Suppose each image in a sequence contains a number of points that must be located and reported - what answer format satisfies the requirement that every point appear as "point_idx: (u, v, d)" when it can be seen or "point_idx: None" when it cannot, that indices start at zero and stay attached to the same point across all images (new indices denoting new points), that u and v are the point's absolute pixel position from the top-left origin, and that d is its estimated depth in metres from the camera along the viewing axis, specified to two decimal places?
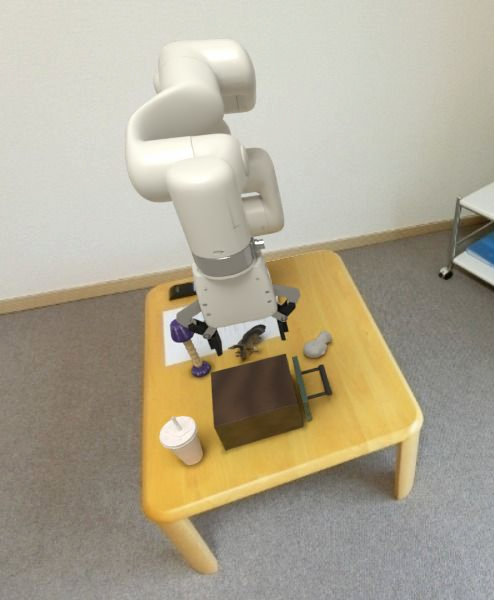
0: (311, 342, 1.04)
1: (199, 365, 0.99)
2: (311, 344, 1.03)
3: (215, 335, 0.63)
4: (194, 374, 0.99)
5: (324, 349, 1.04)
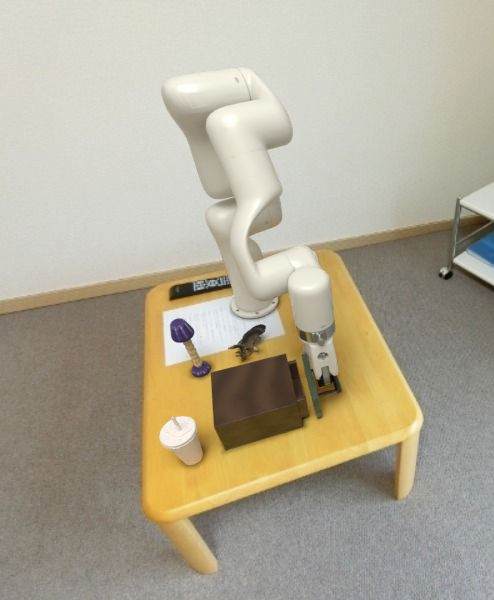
0: None
1: (199, 365, 0.99)
2: None
3: None
4: (194, 374, 0.99)
5: None
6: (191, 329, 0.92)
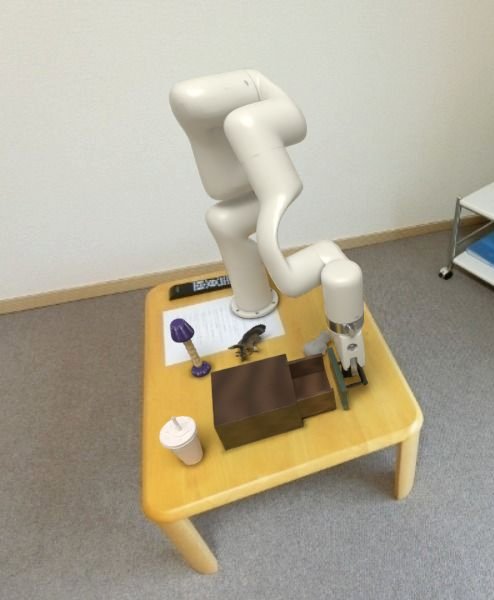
0: (311, 342, 1.04)
1: (199, 365, 0.99)
2: (311, 344, 1.03)
3: None
4: (194, 374, 0.99)
5: (324, 349, 1.04)
6: (191, 329, 0.92)
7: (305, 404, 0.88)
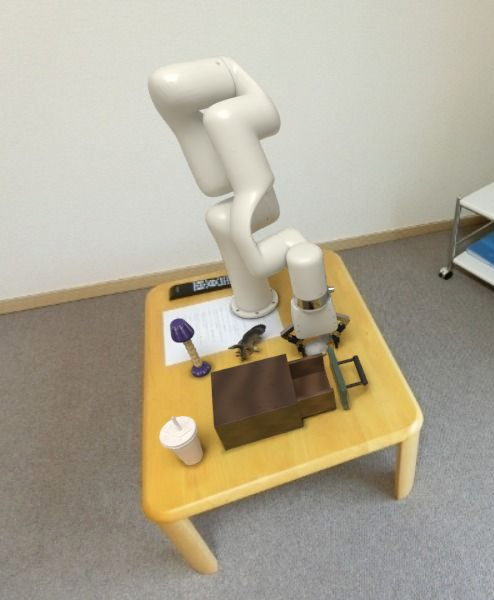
0: (312, 342, 1.04)
1: (199, 365, 0.99)
2: (312, 344, 1.03)
3: (302, 344, 1.02)
4: (194, 374, 0.99)
5: (325, 349, 1.05)
6: (191, 329, 0.92)
7: (305, 404, 0.88)
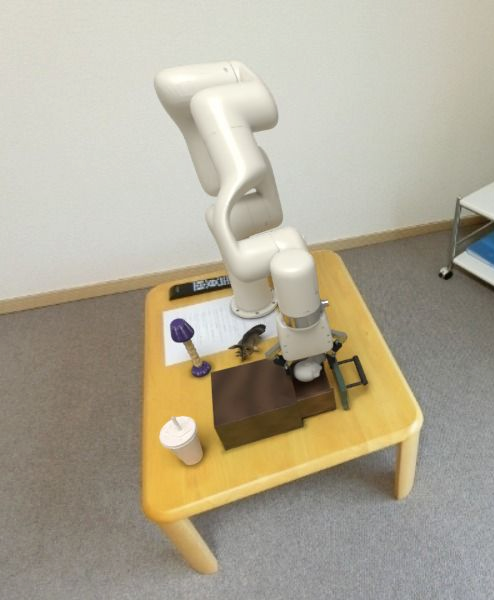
0: (302, 363, 0.89)
1: (199, 365, 0.99)
2: (303, 365, 0.88)
3: (291, 366, 0.87)
4: (194, 374, 0.99)
5: (318, 371, 0.90)
6: (191, 329, 0.92)
7: (305, 404, 0.88)
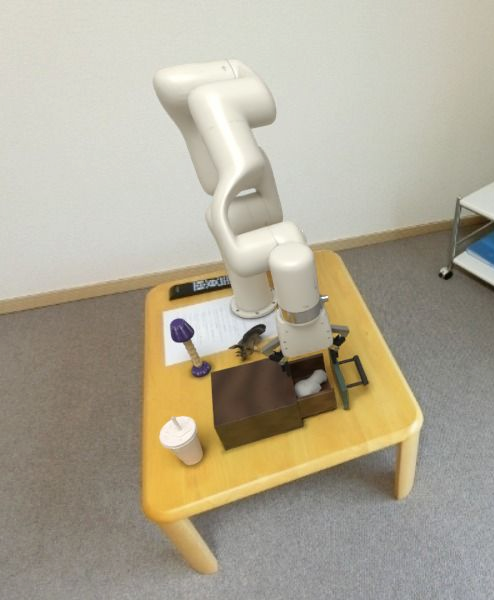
0: (303, 382, 0.93)
1: (199, 365, 0.99)
2: (303, 385, 0.92)
3: (287, 362, 0.85)
4: (194, 374, 0.99)
5: (317, 391, 0.93)
6: (191, 329, 0.92)
7: (306, 404, 0.88)
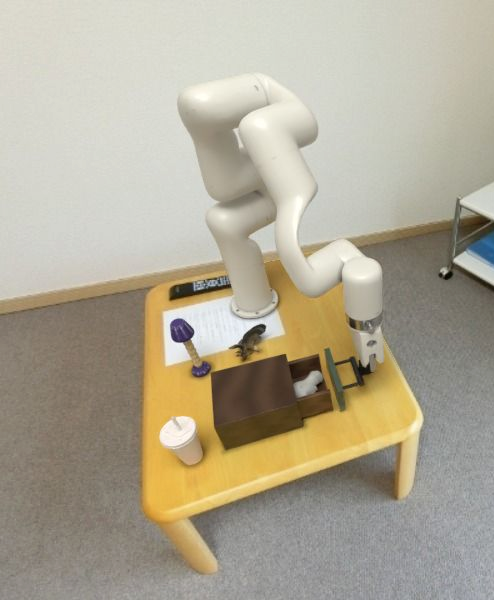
0: (299, 383, 0.92)
1: (199, 365, 0.99)
2: (299, 386, 0.92)
3: None
4: (194, 374, 0.99)
5: (313, 392, 0.93)
6: (191, 329, 0.92)
7: (301, 405, 0.88)
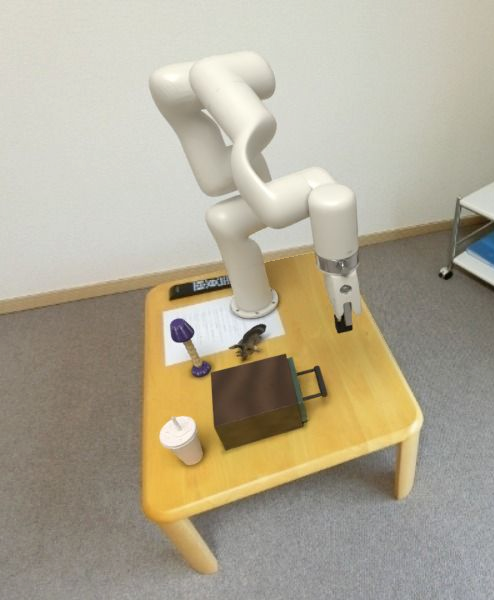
0: None
1: (199, 365, 0.99)
2: None
3: None
4: (194, 374, 0.99)
5: None
6: (191, 329, 0.92)
7: None
